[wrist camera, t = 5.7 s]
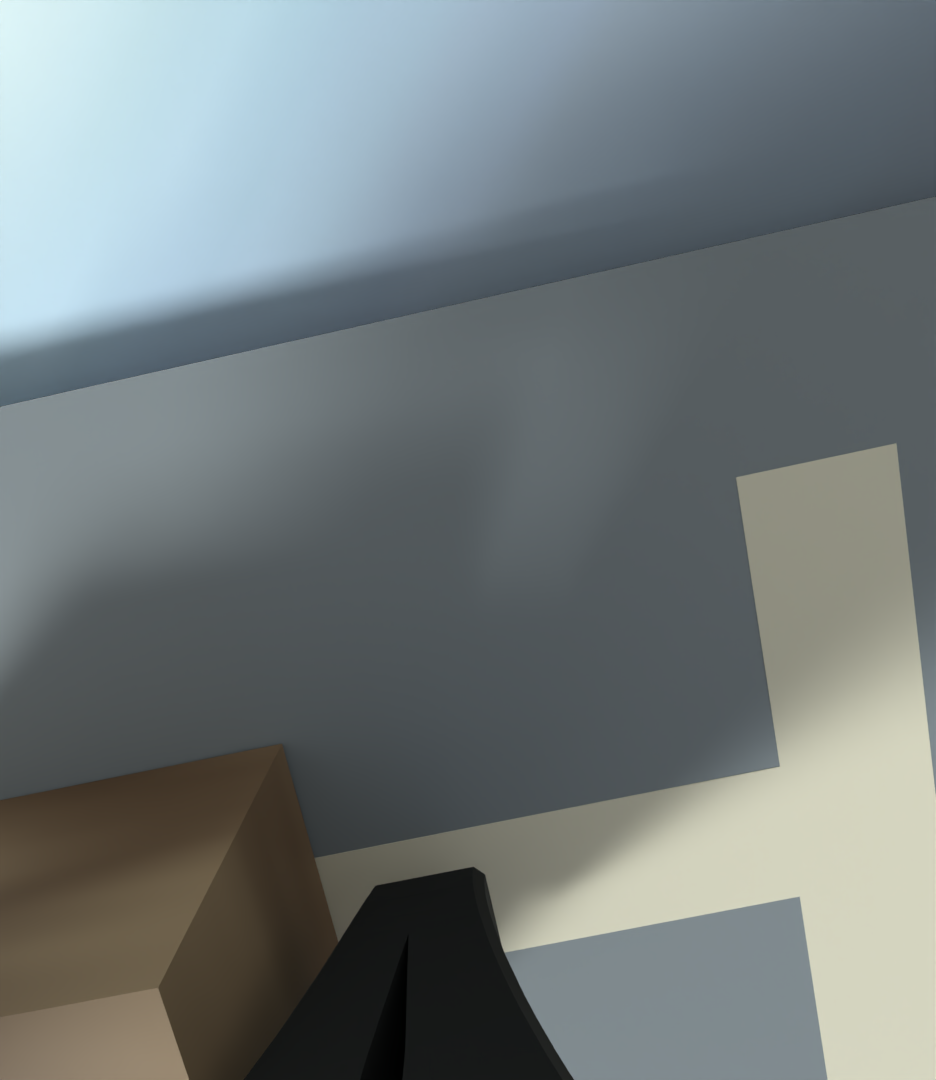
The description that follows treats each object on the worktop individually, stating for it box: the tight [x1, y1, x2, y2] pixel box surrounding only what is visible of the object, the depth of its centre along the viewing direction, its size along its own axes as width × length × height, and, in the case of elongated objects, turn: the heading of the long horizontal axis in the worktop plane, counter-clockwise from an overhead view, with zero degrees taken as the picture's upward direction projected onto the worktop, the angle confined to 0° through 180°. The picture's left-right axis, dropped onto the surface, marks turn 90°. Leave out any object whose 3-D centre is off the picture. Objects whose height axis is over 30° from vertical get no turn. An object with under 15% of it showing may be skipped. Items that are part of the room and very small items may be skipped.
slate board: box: [0, 196, 936, 1080], centre depth 11 cm, size 16×14×1 cm
